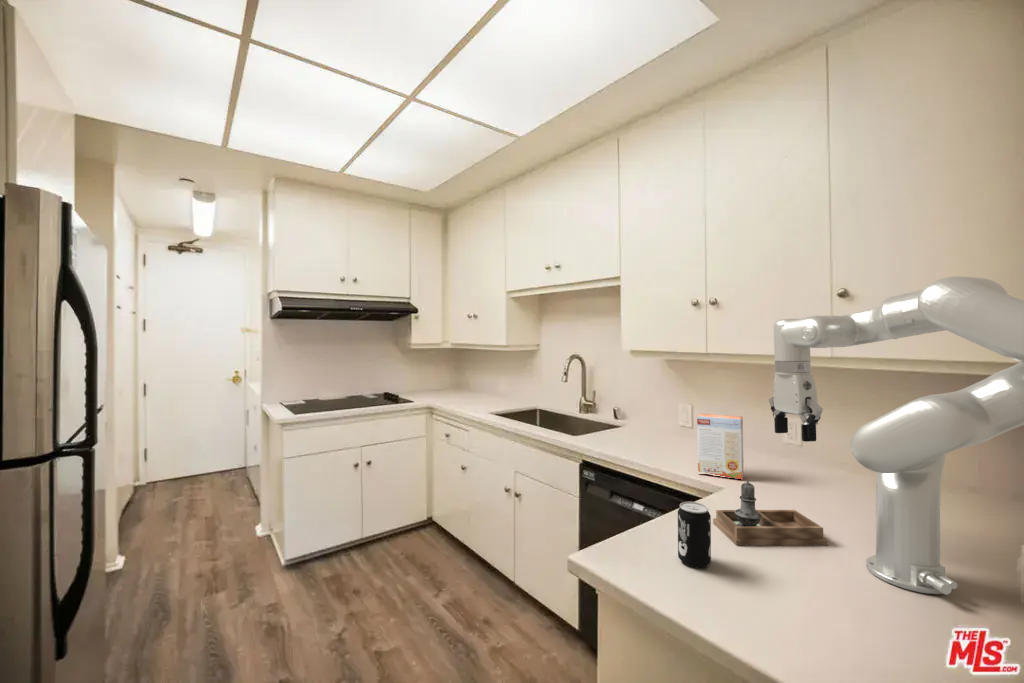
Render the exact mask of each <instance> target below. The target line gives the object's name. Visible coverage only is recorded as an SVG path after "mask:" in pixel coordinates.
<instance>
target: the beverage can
mask: <svg viewBox="0 0 1024 683" xmlns="http://www.w3.org/2000/svg"><path fill="white" fill-rule="evenodd" d="M711 517H712V516H711V514H710V512H709V507H708V506H707V505H706V504H703V503H700V502H696V501H682V502H681V503H680V504H679V508H678V510H677V556H678V559H679V560H680V561H681V563H682V564H684V565H685V566H688V567H691V568H694V569H705V568H707V567H708V566H709V565H710V564H711V563H712V534H711V533H712V532H711V531H712V530H711V529H712V526H711V524H712V518H711Z"/></svg>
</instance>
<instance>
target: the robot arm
mask: <svg viewBox="0 0 1024 683" xmlns="http://www.w3.org/2000/svg"><path fill="white" fill-rule="evenodd" d="M944 331H948V332H949V333H952V334H954V335H956V336H957V337H961V338H962V339H965V340H966V341H969V342H971V343H973V344H975V345H978V346H980V347H983V348H985V349H987V350H990V351H991V352H993V353H996V354H998V355H1000V356H1002V357H1006V358H1008V359H1010V360H1013V361H1017V362H1018V363H1016V364H1013V365H1011V366H1010V367H1007V368H1004V369H1001V370H998V371H997V372H995V373H993V374H991V375H990V376H987V377H986V378H984V379H982V380H980V381H977V382H975V383H973V384H971V385H969V386H966V387H965V388H961V389H958V390H956V391H951V392H944V393H936V394H929V395H925V396H921V397H918V398H916V399H913V400H911V401H909V402H907V403H905V404H903V405H900V406H898V407H897V408H894V409H893V410H891V411H889V412H887V413H885V414H883V415H880V416H879V417H877V418H875V419H873V420H871V421H869V422H867V423H865V424H863V425H861V426H860V427H859V428H857V429H856V431H854V433H853V434H852V437H851V440H850V446H849V447H850V451H851V454H852V456H853V458H854V460H856V461H857V463H858V464H860V465H861V466H862V467H864V468H865V469H867V470H870V471H871V472H875V473H876V479H875V480H876V482H875V555H871V556H869V557H868V558H866V561H865V564H866V568H867V570H868V571H869V572H870V573H871V574H873V575H874V576H876V577H877V578H879V579H880V580H882V581H884V582H886V583H888V584H891V585H894V586H896V587H899V588H901V589H905V590H908V591H912V592H916V593H920V594H928V595H947V596H948V595H950V594H951V593H952V590H956V589H957V588H958V582H956V581H954V580H953V579H950V578H949V577H948V576H947V575H946V566H944V565H942V564H941V495H942V494H941V491H942V490H941V487H942V477H943V471H944V466H945V462H946V455H947V454H948V453H951V452H953V451H956V450H961V449H963V448H970V447H973V446H976V445H980V444H983V443H986V442H988V441H989V440H992V439H994V438H995V437H997V436H999V435H1002V434H1004V433H1006V432H1009V431H1012V430H1014V429H1016V428H1019V427H1021V426H1024V299H1021V298H1018V297H1014V296H1011V295H1010V294H1008V291H1007V290H1006V289H1005V287H1004V286H1002V285H1001V284H1000V283H998V282H996V281H994V280H991V279H987V278H983V277H974V276H972V277H971V276H960V275H959V276H957V275H956V276H949V277H944V278H943V277H942V278H939V279H937V280H935V281H932V282H931V283H930V284H928V285H927V286H925V287H924V288H922V289H919V290H915V291H912V292H907V293H902V294H898V295H894V296H890V297H887V298H885V299H883V300H882V303H881V304H880V306H878V307H874V308H872V309H868V310H865V311H864V310H863V311H859V312H855V313H850V314H845V315H844V314H842V315H813V316H811V315H810V316H806V317H803V318H802V317H801V318H786V319H785V318H783V319H778V320H776V321H775V322H774V323H773V346H774V347H773V348H774V349H773V350H774V353H773V354H774V355H773V356H774V380H773V381H774V382H773V394H772V397H771V398H769V399H768V401H769V404H770V410H771V412H772V417H773V418H774V433H775V434H788V432H789V425H788V424H789V422H788V421H789V420H788V417H787V415H788V414H789V415H794V416H799V418H800V420H801V421H802V424H801V441H802V442H805V443H806V442H816V441H817V425H818V424H819V421H820V419H821V415H822V413H823V407H822V406H821V405H819V404H818V403H819V402H818V393H817V386H816V381H815V378H814V374H812V371H811V370H812V367H811V366H812V364H811V349H826V348H827V349H828V348H829V349H830V348H846V347H853V346H854V347H855V346H858V345H859V346H860V345H865V344H873V343H878V342H883V341H888V340H889V341H890V340H897V339H902V338H908V337H914V336H919V335H920V336H921V335H925V334H926V335H927V334H931V333H932V334H933V333H937V332H939V333H940V332H944Z"/></svg>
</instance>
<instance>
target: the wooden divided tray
mask: <svg viewBox="0 0 1024 683" xmlns="http://www.w3.org/2000/svg"><path fill="white" fill-rule="evenodd" d="M735 510H736V509H716V510H715V513H716V515H715V516H716V517H715V518H712V523H713V525H714V526H716V527H717V528H718V530H720V532H722V534H724V536H726V537H727V538H728V539H729V540H730V541H731V542H732V543H733V544H734V545H735V546H736V545H762V546H829V543H828V541H829V540H828V539H827V538H826V537H824V527H823V526H821V525H819V524H818V523H816V522H815V521H813V520H811V519H810V518H808V517H806V515H803V514H802V513H801V512H799V511H797V510H795V509H756V512H758V513H760V514H761V515H762V518H760V522H759V524H757V525H756V526H738V525H737V524H738V523H740V522H739V521H738V519H737V517H736V514H735Z"/></svg>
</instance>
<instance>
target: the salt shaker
mask: <svg viewBox="0 0 1024 683" xmlns="http://www.w3.org/2000/svg"><path fill="white" fill-rule="evenodd" d="M740 486H741V487H740V488H741V489H740V493H741V494H740V496H739V499H740V508H738V509H734V510H735V514H736V517H737V519H738V521H739V522H740V523H738V524H737V525H738V526H756V525H757V524H759V522H760V518H762V515H761V514H760V513H758V512H756V510H757V509H756V502H757V498H756V497H755V486H754V485H753V484H752V483H750V480H749V479H747V480H746V481H745V482H744V483H742V484H741V485H740Z"/></svg>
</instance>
